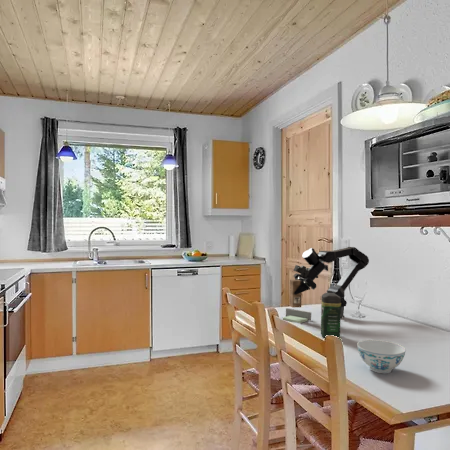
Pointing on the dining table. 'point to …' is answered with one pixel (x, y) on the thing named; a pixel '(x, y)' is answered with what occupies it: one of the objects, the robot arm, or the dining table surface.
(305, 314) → the grey rail
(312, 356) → the dining table surface
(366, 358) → the chinaware
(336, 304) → the coffee jar
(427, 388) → the dining table surface
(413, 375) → the dining table surface
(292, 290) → the walnut block
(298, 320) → the green pad
